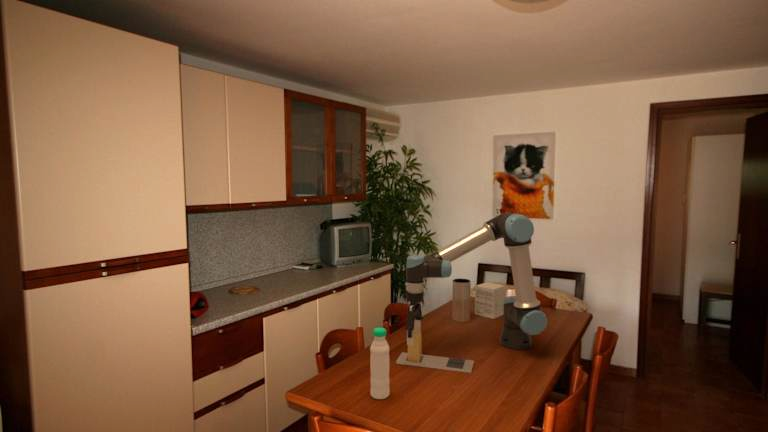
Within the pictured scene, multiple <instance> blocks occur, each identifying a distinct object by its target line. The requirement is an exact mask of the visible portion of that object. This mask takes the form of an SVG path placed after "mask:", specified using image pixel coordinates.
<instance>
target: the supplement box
mask: <svg viewBox="0 0 768 432" xmlns="http://www.w3.org/2000/svg"><path fill="white" fill-rule="evenodd" d="M506 291H507V286H506V285H505V284H499V283H494V282H488V281H487V282H484V283H480V284H476V285H474V315H475V316H476V315H477V316H481V317H483V318H487V319H493V320H495V319H496V318H500V317H502V316H503V315H504V305H503V303H504V298H506V297H507V295H506V294H507V292H506Z"/></svg>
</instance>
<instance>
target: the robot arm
mask: <svg viewBox="0 0 768 432" xmlns="http://www.w3.org/2000/svg"><path fill="white" fill-rule="evenodd" d="M534 232H535V227H534V224H533V222H532V220H531V219H530V218H529V217H527V216H525V215H523V214H521V213H513V212H503V213H500V214H498V215H496V216H494V217H493V218H490V219H489V220H487V221H485V222H484V223H483V224H482V226H481V227H479V228H477V229H476V230H473V231H471V232H470V233H468V234H466V235H464V236H462V237H460V238H459V239H457V240H455V241H453V242H452V243H450V244H447V245H446V246H444V247H442V248H440V249H439V250H436V251H435V252H432V253H429V254H428V253H426V254H424V255H413V254H411V255H408V256H407V257H406V265H405V267H406V268H405V269H406V270H405V271H406V276H405V280H406V281H405V283H404V286H405V290H406V292H405V300H406V301H407V302H409V305H407V315H406V323H405V325H406V326H405V328H404V330H406V345H407V346H408V345H414V332H417V333H422V332H421V330H422V329H421V328H422V322H421V321H423V318H424V317H423V312H422V304H421V303H422V302H423V301H424V290H425V289H424V288H425V287H424V285H425V281H424V279H428V278H430V279H431V278H432V279H433V278H434V279H435V278H436V279H437V278H439V279H440V278H441V279H444V278H445V279H446V278H449V277H451V275H452V272H453V271H452V269H453V268H452V262H454V261H455V260H457V259H459V258H461V257H463V256H464V255H467V254H469V253H470V252H473V251H475V250H476V249H477V248H480V247H482V246H483V245H485V244H487V243H488V242H490V241H493V242H496V241H497V240H500V239H503V243H504V247H506V248H507V250H508V252H509V253H508V254H509V260H510V267H511V273H512V280H513V285H514V286H513V287H514V293H515V294H514V295H510V296H509V295H508V296H506V298H504V303H503V305H504V315H502V316H503V320H502V321H503V327H502V330H501V333H500V334H499V339H498V340H499V342H498V344H500V345H501V346H503V347H505V348H507V349H512V350H527V349H529V348H530V349H531V348H532V346H533V339H532V336H537V335H539V334H541V333H542V332H543V331H544V330H545V329H546V328H547V325H548V318H547V314H545V313H544V312H543V311H542V305H541V301H540V300H539V299H538V298H537V295H536V288H535V281H534V280H535V279H534V275H533V267H532V261H531V254H530V246H531V245H532V244H533V243H532V242H533V241H532V238H533V235H534Z"/></svg>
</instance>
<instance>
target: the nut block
mask: <svg viewBox="0 0 768 432" xmlns="http://www.w3.org/2000/svg"><path fill="white" fill-rule="evenodd" d="M422 338H423V337H422V332H421V333H417V332H414V345H407V353H408V359H407V361H414V362H421V361H422V358H421V357H422V355H423V354H422V351H423V349H422V345H423V344H422V343H423V341H422Z"/></svg>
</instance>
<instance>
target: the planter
mask: <svg viewBox="0 0 768 432" xmlns="http://www.w3.org/2000/svg"><path fill="white" fill-rule="evenodd" d="M471 283H472V281H471V280H470V279H467V278H453V280H452V304H451V305H452V311H451V313H452V316H451V317H452V320H453V321H455V322H457V323H467V322H468V323H469V321H471Z"/></svg>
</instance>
